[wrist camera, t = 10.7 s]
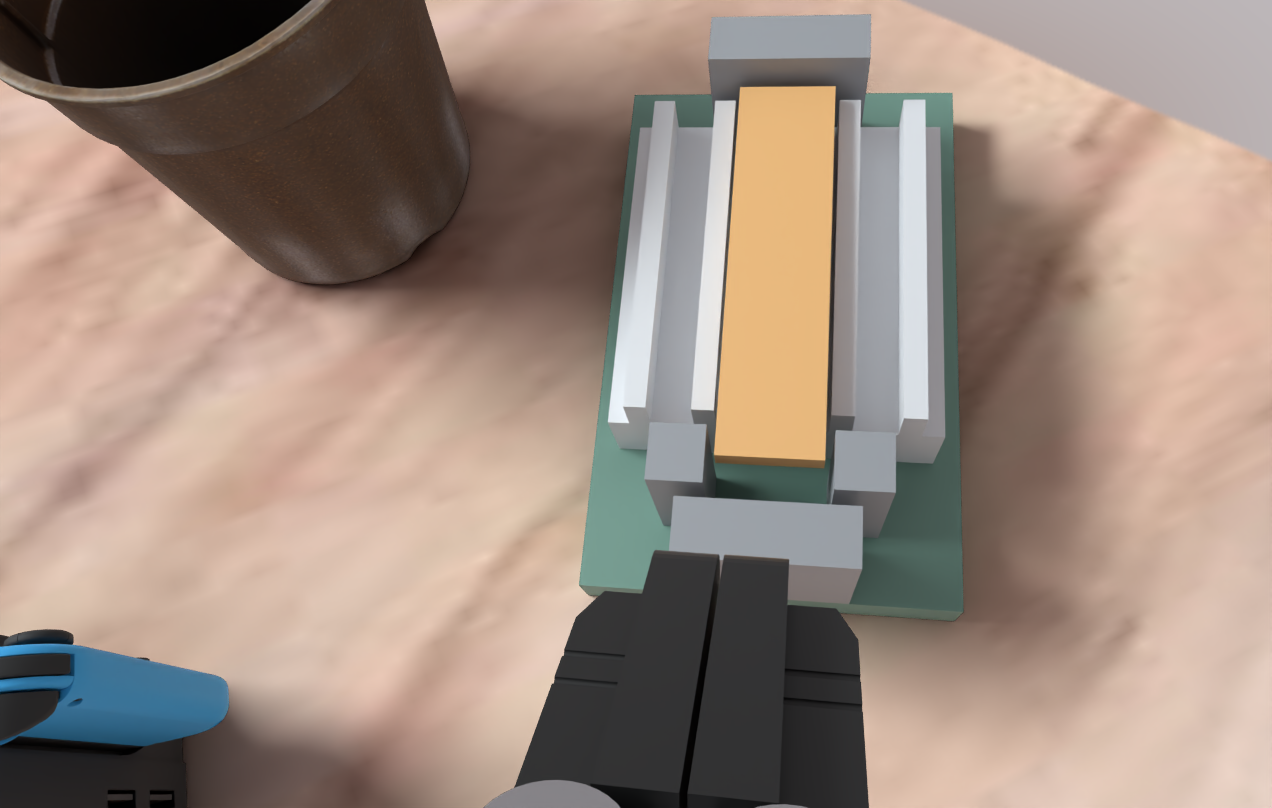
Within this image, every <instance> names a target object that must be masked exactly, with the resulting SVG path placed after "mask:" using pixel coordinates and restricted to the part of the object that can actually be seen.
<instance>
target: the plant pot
mask: <svg viewBox="0 0 1272 808" xmlns="http://www.w3.org/2000/svg"><path fill="white" fill-rule="evenodd" d="M0 79H1V80H2V81H3V82H5V83H6V84H8V85H9V86H11V87H13V88H15V89H17V90H19V91H21V92H23V93H25V94H28V95H30V96H33V97H35V98H38V99H42V100H45V101H47V102H48V103H50V104H51V105H52V106H54V107H55V108H56V109H57V110H59V111H60V112H61V113H63V114H64V115H65V116H66V117H68V118H69V119H70V120H72V121H73V122H74V123H75V124H77V125H78V126H79V127H81V128H82V129H83V130H85V131H87V132H88V133H90V134H92V135H93V136H95V137H97V138H99V139H101V140H103V141H106V142H108V143H110V144H113V145H116V146H118V147H119V148H120V149H122V150H123V151H124V152H125V153H126V154H128V155H129V156H130V157H131V158H133V159H134V160H135V161H136V162H137V163H139V164H140V165H141V166H142V167H144V168H145V169H146V170H147V171H148V172H150V173H151V174H152V175H153V176H154V177H156V178H157V179H158V180H159V181H161V182H162V183H163V184H164V185H165V186H167V187H168V188H169V189H170V190H171V191H173V192H174V193H175V194H176V195H177V196H179V197H180V198H181V199H182V200H183V201H185V202H186V203H187V204H188V205H189V206H191V207H192V208H193V209H194V210H195V211H197V212H198V213H199V214H200V215H202V216H203V217H204V218H205V219H206V220H208V221H209V222H210V223H211V224H212V225H214V226H215V227H216V228H217V229H218V230H219V231H221V232H222V233H223V234H224V235H225V236H227V237H228V238H229V239H230V240H231V241H233V242H234V243H235V244H236V245H237V246H239V247H240V248H241V249H242V250H243V251H244V252H245V253H246V254H247V255H248V256H250V257H251V258H252V259H254V260H255V261H256V262H257V263H259V264H260V265H262V266H263V267H264V268H266V269H267V270H269V271H271V272H273V273H275V274H277V275H279V276H282V277H284V278H287V279H290V280H293V281H298V282H304V283H311V284H339V283H346V282H352V281H358V280H362V279H366V278H369V277H372V276H375V275H378V274H380V273H383V272H385V271H387V270H389V269H392V268H394V267H396V266H398V265H400V264H402V263H403V262H405V261H406V260H408V259H410V257H411V255H412V254H413V252H414V251H415V249H416V248H417V247H418V246H419V245H420V244H421V243H422V242H423V241H424V240H426V239H427V238H428V237H429V236H431V235H432V234H434V233H435V232H438V231H440V230H442V229H443V228H444V227H445V225H446V224H447V222H448V221H449V220H450V218H451V217H452V215H453V214H454V212H455V210H456V208H457V206H458V204H459V203H460V200H461V198H462V195H463V192H464V190H465V186H466V182H467V178H468V174H469V165H470V148H469V141H468V136H467V131H466V128H465V125H464V122H463V119H462V116H461V113H460V111H459V108H458V104H457V101H456V98H455V95H454V92H453V89H452V86H451V83H450V79H449V76H448V73H447V70H446V67H445V64H444V61H443V57H442V54H441V51H440V48H439V45H438V42H437V39H436V36H435V33H434V29H433V26H432V23H431V20H430V17H429V14H428V10H427V7H426V4H425V0H0Z"/></svg>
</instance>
